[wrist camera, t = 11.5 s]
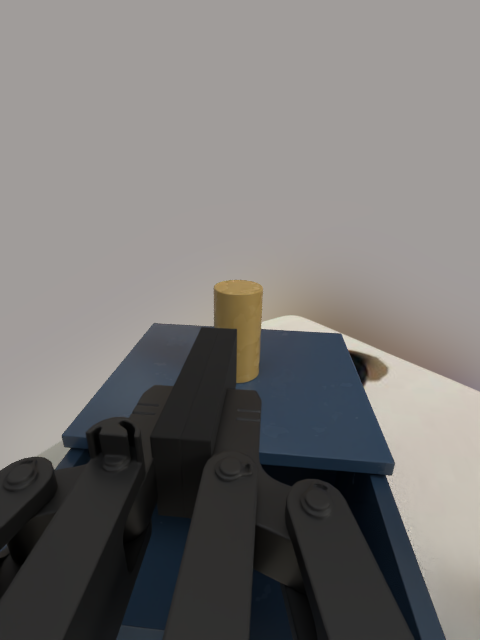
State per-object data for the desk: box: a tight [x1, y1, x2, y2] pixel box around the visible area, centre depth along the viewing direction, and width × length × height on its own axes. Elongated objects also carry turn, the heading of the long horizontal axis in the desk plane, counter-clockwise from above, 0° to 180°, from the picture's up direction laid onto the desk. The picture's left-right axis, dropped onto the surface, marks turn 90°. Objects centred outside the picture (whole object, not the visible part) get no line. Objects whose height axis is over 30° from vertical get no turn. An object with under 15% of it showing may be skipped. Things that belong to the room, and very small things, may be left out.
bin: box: [0, 448, 446, 640], centre depth 18 cm, size 16×14×9 cm
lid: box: [62, 280, 395, 475], centre depth 22 cm, size 16×14×7 cm
